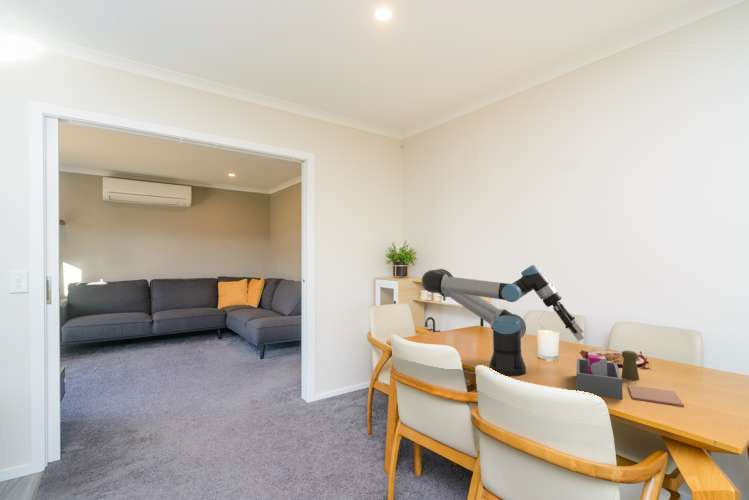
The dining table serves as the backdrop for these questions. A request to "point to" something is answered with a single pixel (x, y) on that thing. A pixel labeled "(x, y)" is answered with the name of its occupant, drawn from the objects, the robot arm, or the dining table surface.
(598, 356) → the supplement box
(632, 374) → the cork
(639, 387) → the mat
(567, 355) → the dining table surface
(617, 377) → the rectangular frame
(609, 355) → the plate with food
